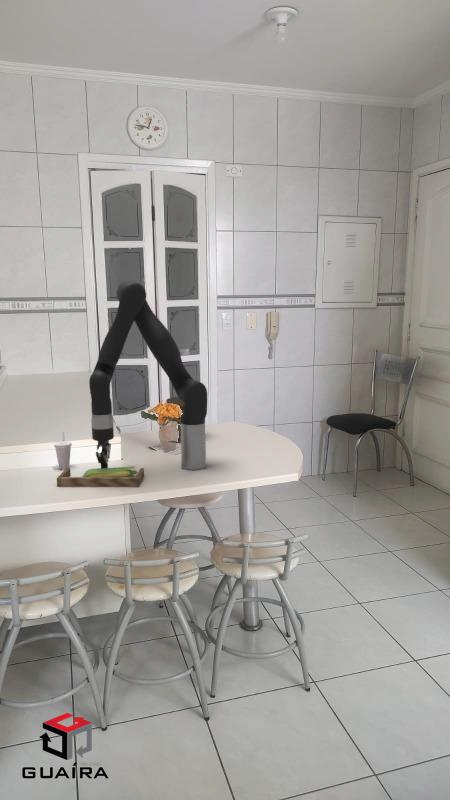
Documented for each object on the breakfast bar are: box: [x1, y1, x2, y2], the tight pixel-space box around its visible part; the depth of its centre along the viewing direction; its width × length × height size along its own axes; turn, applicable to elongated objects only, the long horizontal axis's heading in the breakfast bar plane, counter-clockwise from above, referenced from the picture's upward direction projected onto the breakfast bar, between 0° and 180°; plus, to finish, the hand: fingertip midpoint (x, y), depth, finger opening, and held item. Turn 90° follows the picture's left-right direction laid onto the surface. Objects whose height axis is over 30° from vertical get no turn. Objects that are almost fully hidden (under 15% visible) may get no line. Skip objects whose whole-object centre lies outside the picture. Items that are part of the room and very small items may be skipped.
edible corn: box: [82, 465, 139, 477], centre depth 198 cm, size 5×20×5 cm
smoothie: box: [53, 431, 73, 470], centre depth 211 cm, size 6×6×14 cm
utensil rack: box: [56, 467, 145, 488], centre depth 196 cm, size 28×12×3 cm, turn 89°
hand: (104, 472), depth 201 cm, fingers closed
